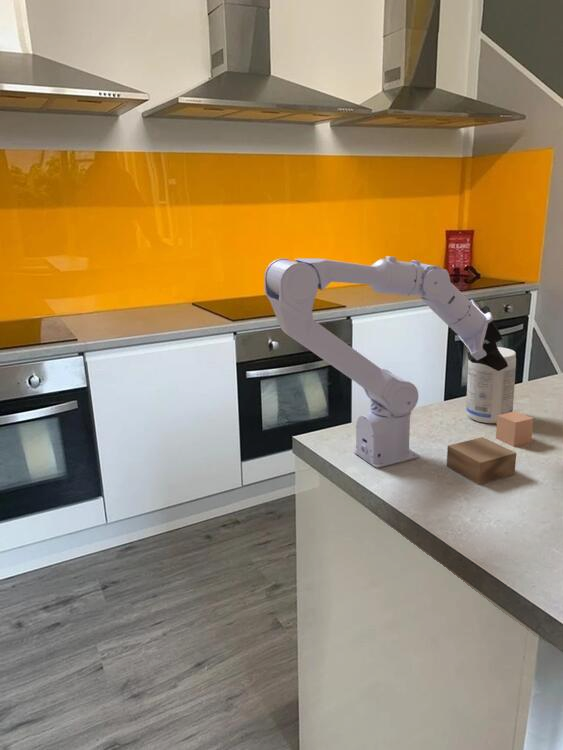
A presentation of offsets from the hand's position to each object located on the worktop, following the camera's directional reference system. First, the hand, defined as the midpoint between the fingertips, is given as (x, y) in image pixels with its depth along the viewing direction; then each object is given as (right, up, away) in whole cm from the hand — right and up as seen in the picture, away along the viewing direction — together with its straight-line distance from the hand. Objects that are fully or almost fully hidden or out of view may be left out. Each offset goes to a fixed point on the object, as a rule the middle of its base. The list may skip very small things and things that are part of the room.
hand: (500, 353), depth 112 cm
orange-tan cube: (+4, -17, +3) cm, 17 cm away
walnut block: (-7, -21, -9) cm, 24 cm away
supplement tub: (+3, -13, +15) cm, 20 cm away
